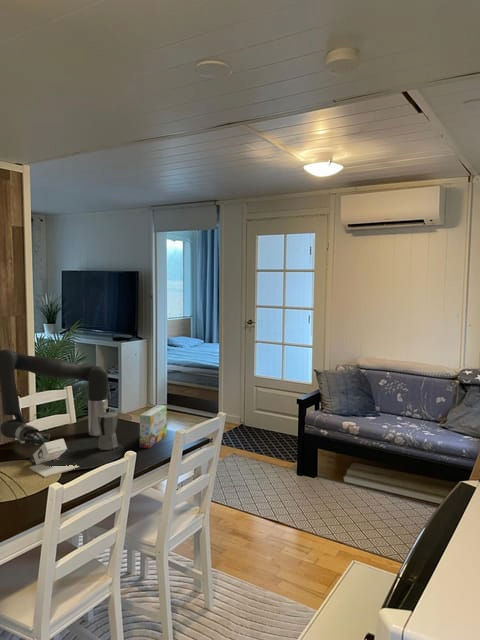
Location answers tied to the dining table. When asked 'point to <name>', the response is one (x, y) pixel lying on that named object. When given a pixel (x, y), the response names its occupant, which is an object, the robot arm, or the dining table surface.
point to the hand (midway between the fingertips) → (44, 443)
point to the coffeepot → (107, 430)
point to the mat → (51, 469)
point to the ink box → (50, 451)
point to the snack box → (153, 426)
